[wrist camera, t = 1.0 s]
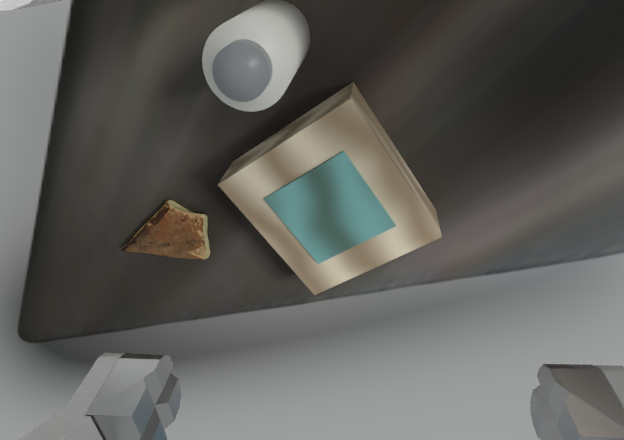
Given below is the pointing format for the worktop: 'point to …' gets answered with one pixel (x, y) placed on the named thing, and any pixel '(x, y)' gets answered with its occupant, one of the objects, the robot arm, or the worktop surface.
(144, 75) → the worktop surface
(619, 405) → the robot arm
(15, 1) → the cylindrical container
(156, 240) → the shard
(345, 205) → the birch plinth
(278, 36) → the white bottle
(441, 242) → the worktop surface
